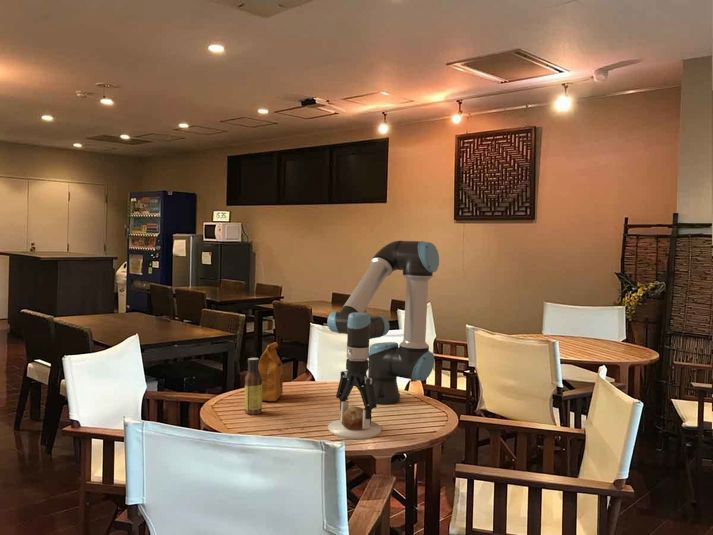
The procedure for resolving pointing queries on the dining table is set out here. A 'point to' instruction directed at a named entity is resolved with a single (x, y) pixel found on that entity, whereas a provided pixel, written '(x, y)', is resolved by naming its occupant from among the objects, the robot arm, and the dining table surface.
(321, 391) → the dining table surface
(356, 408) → the bread roll
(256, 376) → the sauce bottle
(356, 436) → the plate
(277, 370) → the coffee package
